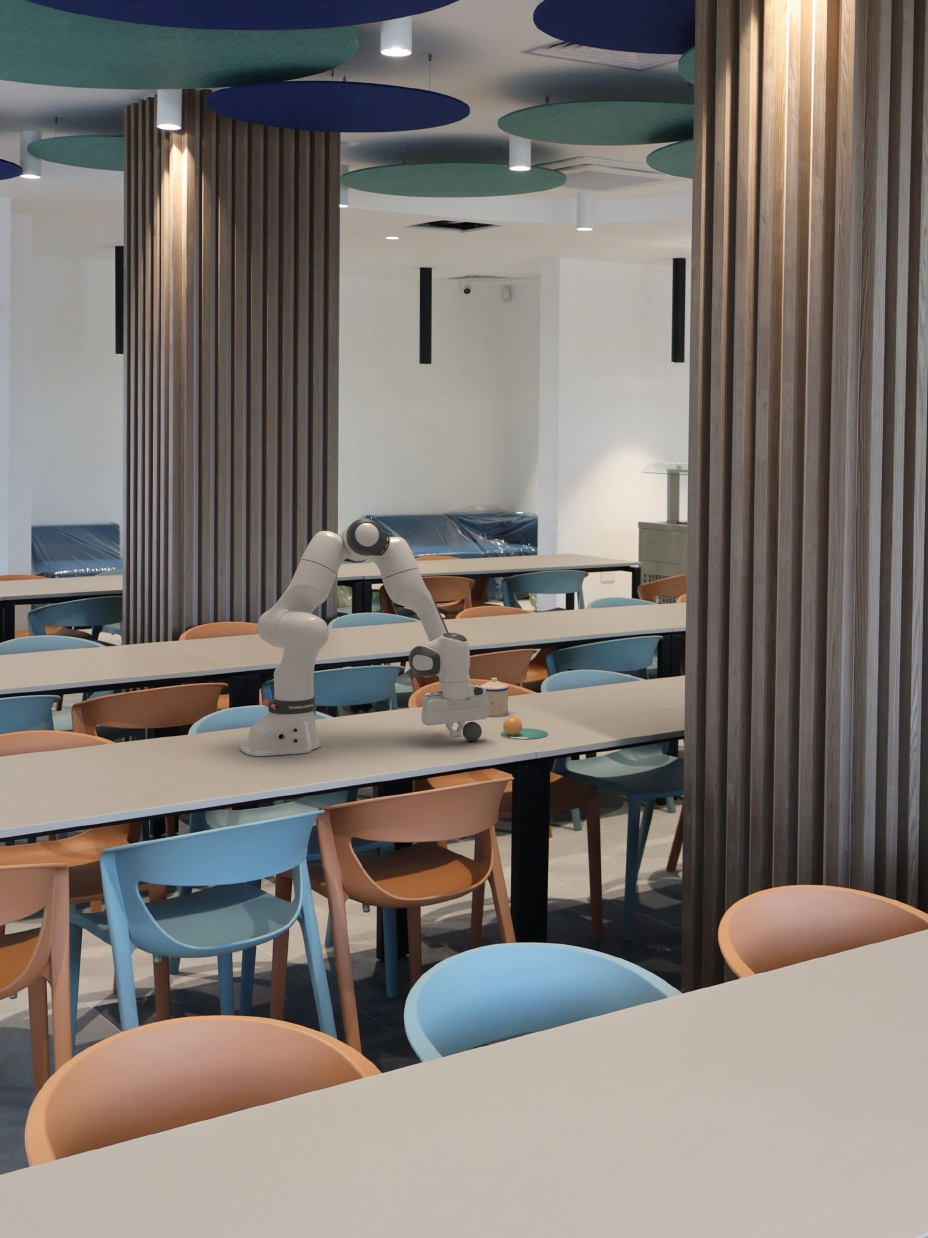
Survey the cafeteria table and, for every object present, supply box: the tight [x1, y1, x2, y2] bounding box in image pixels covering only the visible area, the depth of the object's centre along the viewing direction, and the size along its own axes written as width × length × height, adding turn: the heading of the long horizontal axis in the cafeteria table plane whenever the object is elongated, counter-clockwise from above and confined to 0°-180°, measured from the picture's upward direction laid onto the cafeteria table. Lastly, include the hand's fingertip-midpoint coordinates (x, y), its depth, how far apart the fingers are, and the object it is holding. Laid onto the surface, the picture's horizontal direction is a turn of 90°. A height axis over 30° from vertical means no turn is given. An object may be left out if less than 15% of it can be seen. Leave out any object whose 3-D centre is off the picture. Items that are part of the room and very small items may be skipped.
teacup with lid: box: [480, 677, 509, 718], centre depth 404 cm, size 12×9×12 cm
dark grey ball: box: [461, 721, 483, 742], centre depth 368 cm, size 6×6×6 cm
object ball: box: [502, 716, 523, 736], centre depth 374 cm, size 6×6×6 cm
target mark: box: [500, 727, 549, 740], centre depth 376 cm, size 14×14×1 cm
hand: (455, 737), depth 366 cm, fingers closed
